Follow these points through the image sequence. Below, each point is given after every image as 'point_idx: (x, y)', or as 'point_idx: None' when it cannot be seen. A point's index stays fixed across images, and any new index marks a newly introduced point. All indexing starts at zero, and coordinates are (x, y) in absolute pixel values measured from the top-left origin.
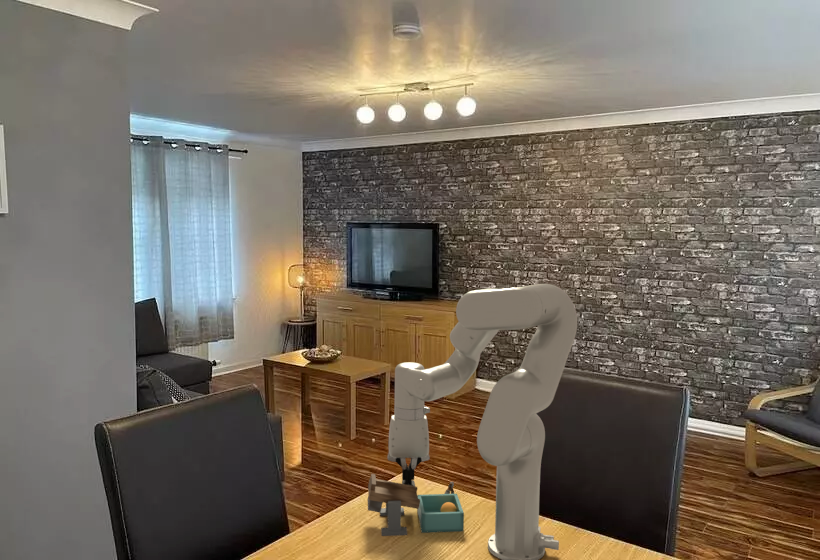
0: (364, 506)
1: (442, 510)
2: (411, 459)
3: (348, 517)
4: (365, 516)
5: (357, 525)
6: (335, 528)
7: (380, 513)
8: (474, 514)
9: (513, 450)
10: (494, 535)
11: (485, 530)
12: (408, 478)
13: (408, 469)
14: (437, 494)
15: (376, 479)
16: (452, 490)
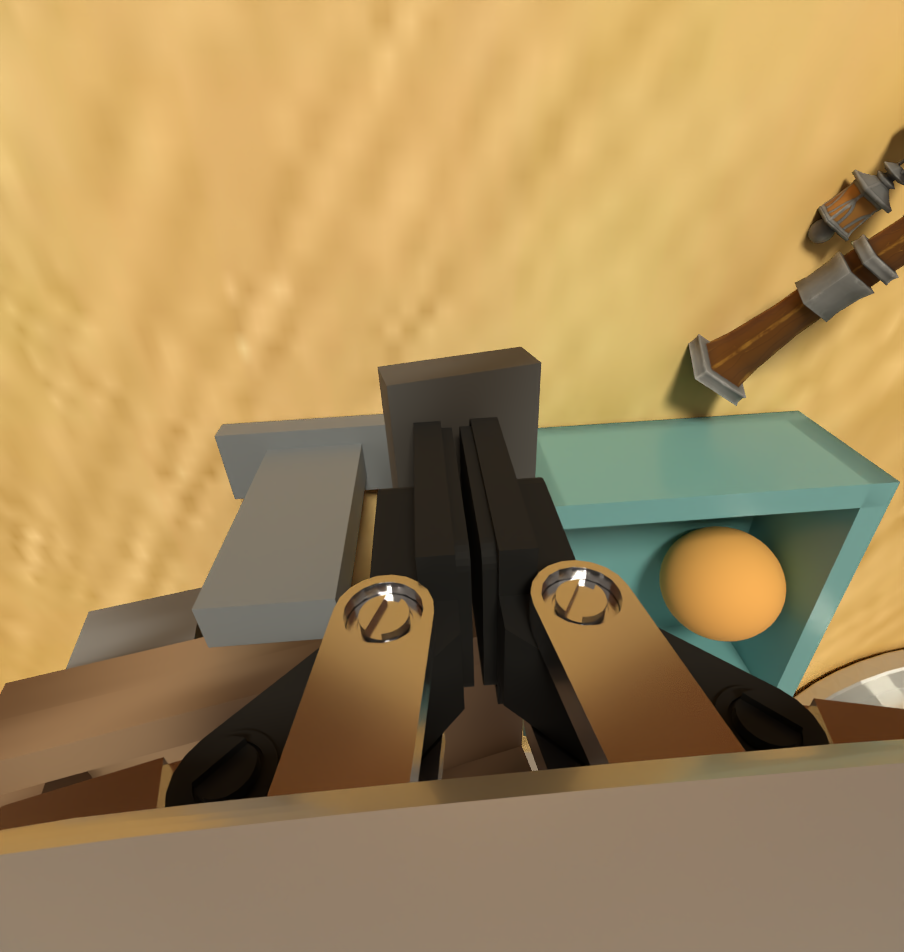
0: (61, 337)
1: (675, 615)
2: (574, 703)
3: (17, 506)
4: (137, 492)
5: (128, 589)
6: (7, 620)
7: (239, 494)
8: (889, 455)
9: None
10: (843, 697)
11: (839, 610)
12: (465, 513)
13: (478, 573)
14: (720, 500)
15: (65, 753)
16: None
